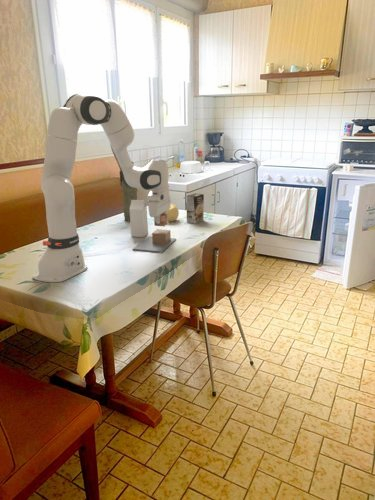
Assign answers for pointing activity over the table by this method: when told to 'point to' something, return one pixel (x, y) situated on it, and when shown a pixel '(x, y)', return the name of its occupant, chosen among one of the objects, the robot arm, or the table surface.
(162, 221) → the top block
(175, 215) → the sculpture
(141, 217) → the milk carton
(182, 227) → the table surface
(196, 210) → the coffee box
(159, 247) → the building board
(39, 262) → the robot arm
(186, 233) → the table surface
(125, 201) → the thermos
